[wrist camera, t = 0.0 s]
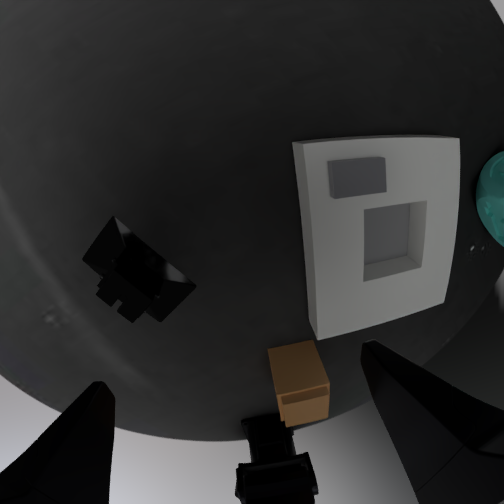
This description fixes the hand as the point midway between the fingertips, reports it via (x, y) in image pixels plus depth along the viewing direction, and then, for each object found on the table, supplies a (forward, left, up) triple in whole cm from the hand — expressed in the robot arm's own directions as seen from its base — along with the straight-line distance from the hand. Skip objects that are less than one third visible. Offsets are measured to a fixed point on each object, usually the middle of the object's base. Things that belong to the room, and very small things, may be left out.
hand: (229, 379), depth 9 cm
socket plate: (-2, -13, -15) cm, 20 cm away
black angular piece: (-2, +8, -16) cm, 18 cm away
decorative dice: (0, -30, -15) cm, 34 cm away
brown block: (-15, -4, -15) cm, 22 cm away
